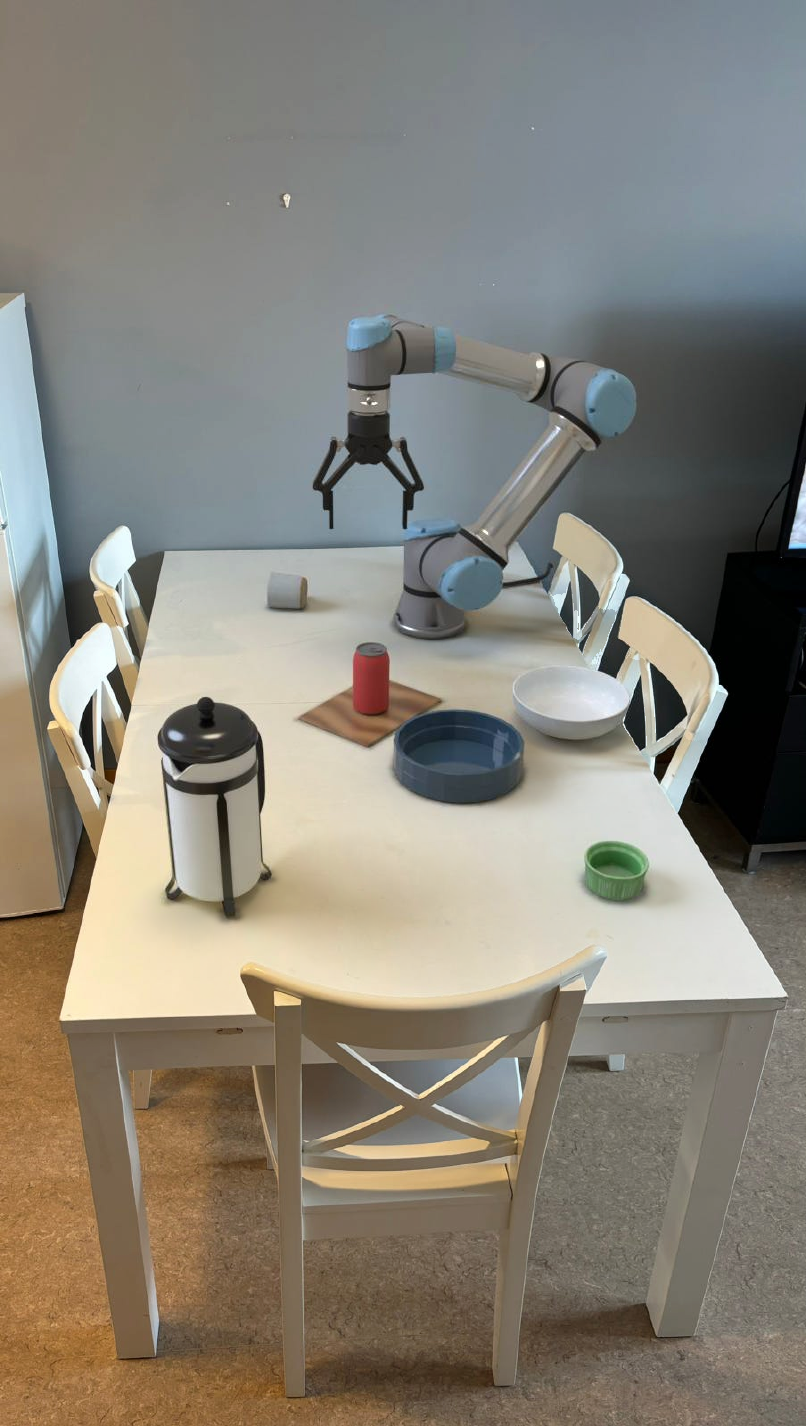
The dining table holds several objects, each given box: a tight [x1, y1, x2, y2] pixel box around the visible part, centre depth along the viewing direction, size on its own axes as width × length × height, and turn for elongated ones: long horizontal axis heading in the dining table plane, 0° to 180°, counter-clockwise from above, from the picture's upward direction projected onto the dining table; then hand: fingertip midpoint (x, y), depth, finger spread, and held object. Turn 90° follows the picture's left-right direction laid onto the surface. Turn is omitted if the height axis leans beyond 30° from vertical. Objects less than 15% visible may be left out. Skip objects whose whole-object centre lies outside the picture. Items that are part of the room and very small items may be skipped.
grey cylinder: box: [266, 572, 308, 610], centre depth 238 cm, size 11×8×8 cm
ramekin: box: [584, 840, 650, 901], centre depth 152 cm, size 9×9×4 cm
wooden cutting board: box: [298, 679, 442, 748], centre depth 197 cm, size 22×16×1 cm
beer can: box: [352, 641, 391, 715], centre depth 194 cm, size 7×7×12 cm
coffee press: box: [156, 696, 273, 919], centre depth 145 cm, size 17×16×30 cm
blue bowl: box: [392, 708, 525, 804], centre depth 179 cm, size 21×21×6 cm
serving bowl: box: [511, 664, 631, 740], centre depth 193 cm, size 21×21×7 cm
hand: (368, 527), depth 200 cm, fingers open, 13 cm apart
